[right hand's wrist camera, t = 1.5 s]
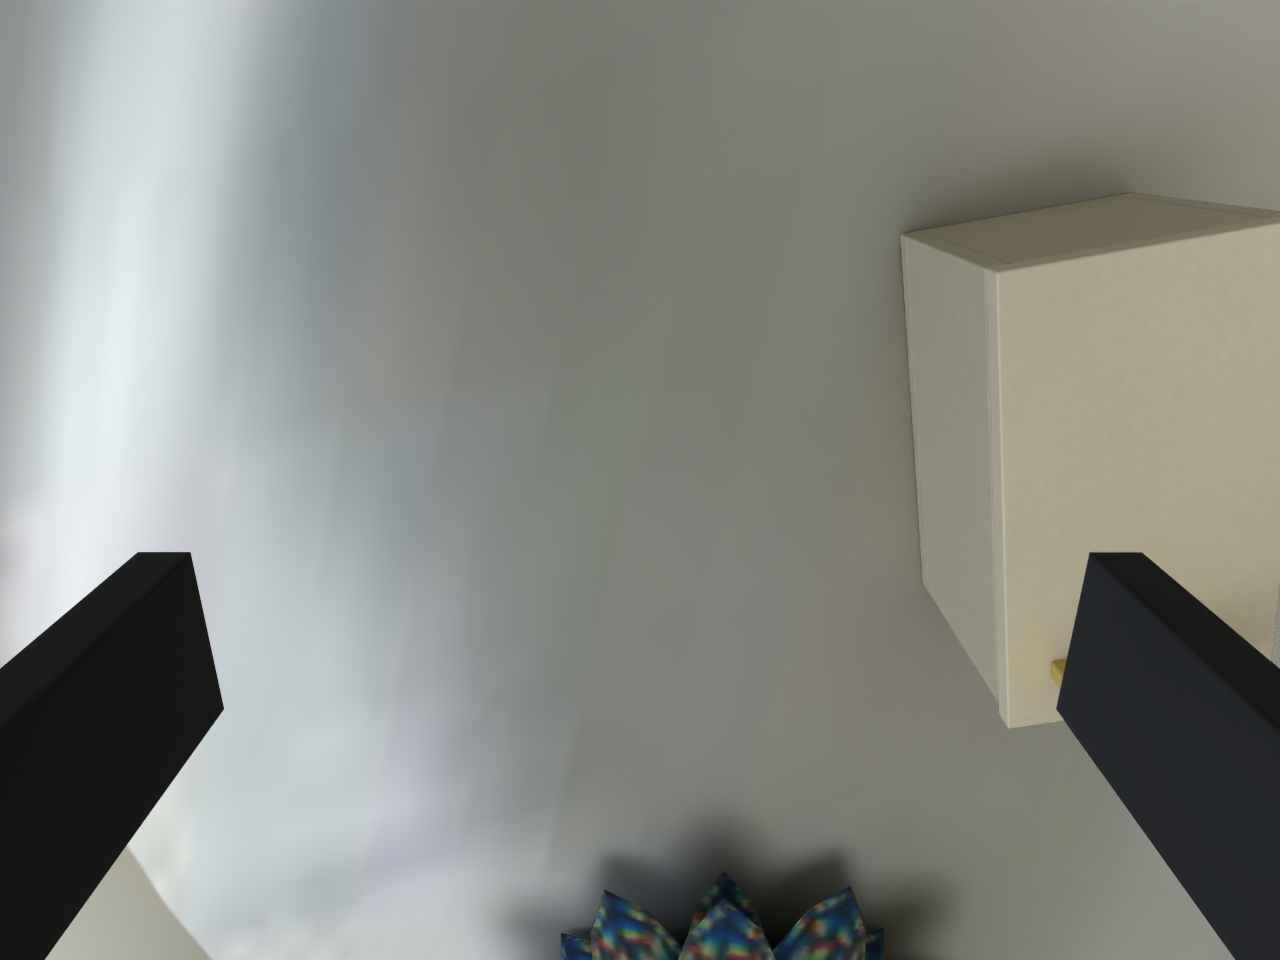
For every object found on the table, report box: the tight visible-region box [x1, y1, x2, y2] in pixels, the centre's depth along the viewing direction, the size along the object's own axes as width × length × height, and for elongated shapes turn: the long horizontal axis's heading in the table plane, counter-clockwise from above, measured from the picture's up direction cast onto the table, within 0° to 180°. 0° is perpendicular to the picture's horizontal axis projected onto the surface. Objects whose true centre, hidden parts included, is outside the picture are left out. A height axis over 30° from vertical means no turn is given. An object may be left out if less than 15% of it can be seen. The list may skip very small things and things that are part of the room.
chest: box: [900, 193, 1280, 702], centre depth 33 cm, size 16×9×9 cm, turn 10°
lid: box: [986, 217, 1280, 728], centre depth 25 cm, size 16×9×8 cm, turn 10°
